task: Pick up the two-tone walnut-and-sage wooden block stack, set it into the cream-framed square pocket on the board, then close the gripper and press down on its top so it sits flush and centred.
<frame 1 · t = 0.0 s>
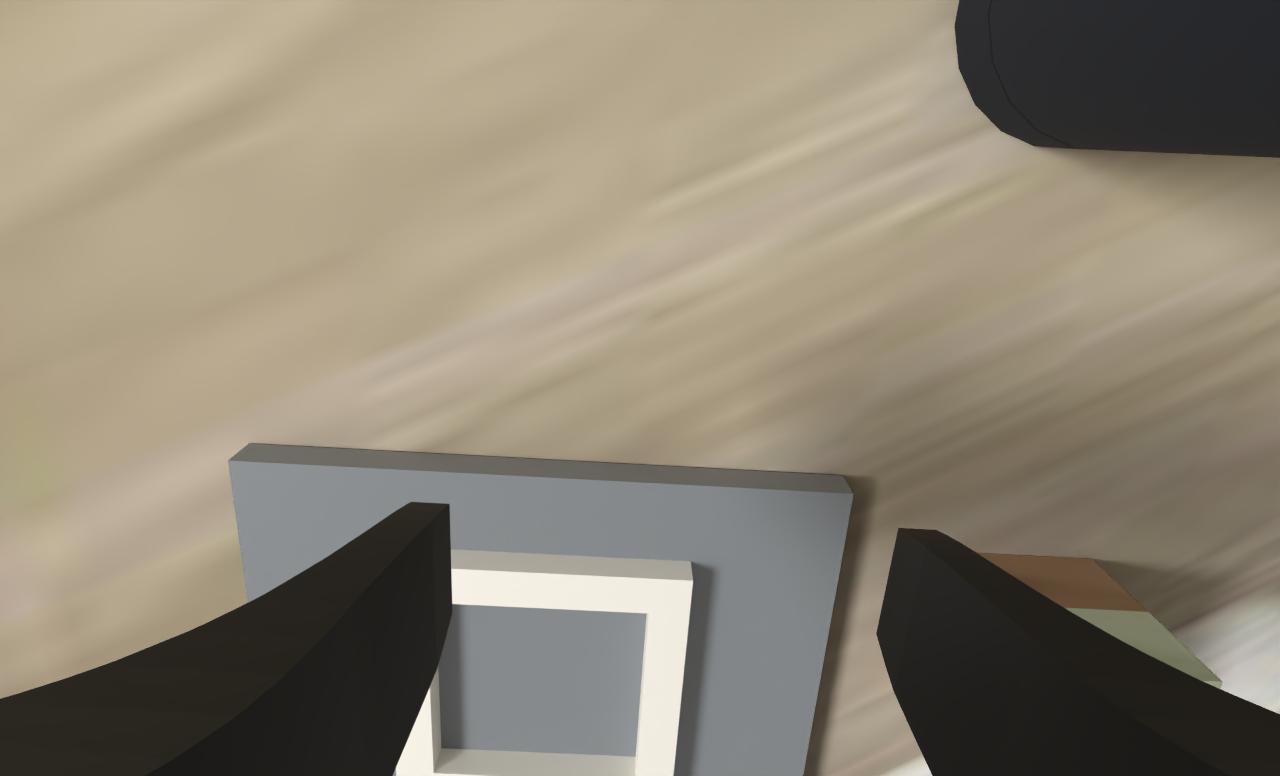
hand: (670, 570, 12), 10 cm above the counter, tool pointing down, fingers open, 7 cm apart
pocket board: (544, 648, 24), on the counter
block stack: (996, 618, 24), on the counter
wine bottle: (1078, 14, 18), on the counter
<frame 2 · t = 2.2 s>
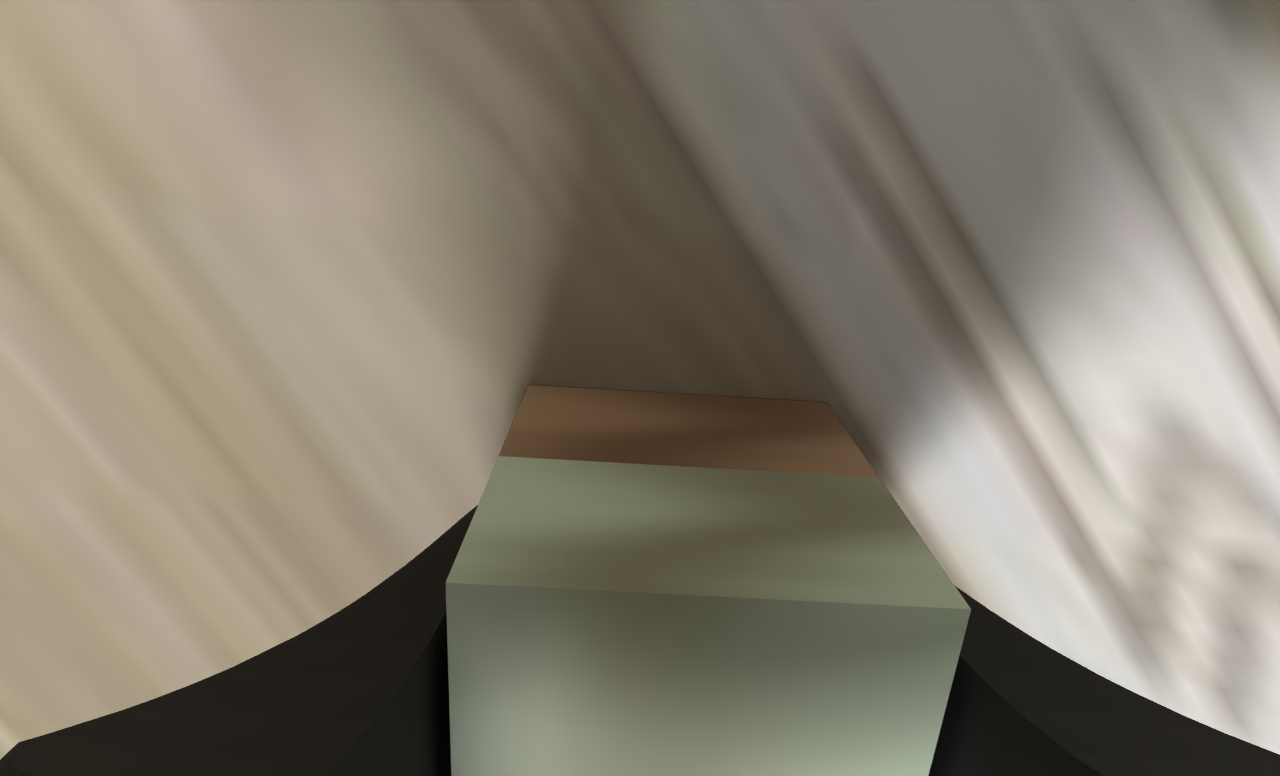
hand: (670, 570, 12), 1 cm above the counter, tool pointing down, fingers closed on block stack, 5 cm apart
block stack: (667, 524, 13), on the counter, touching gripper
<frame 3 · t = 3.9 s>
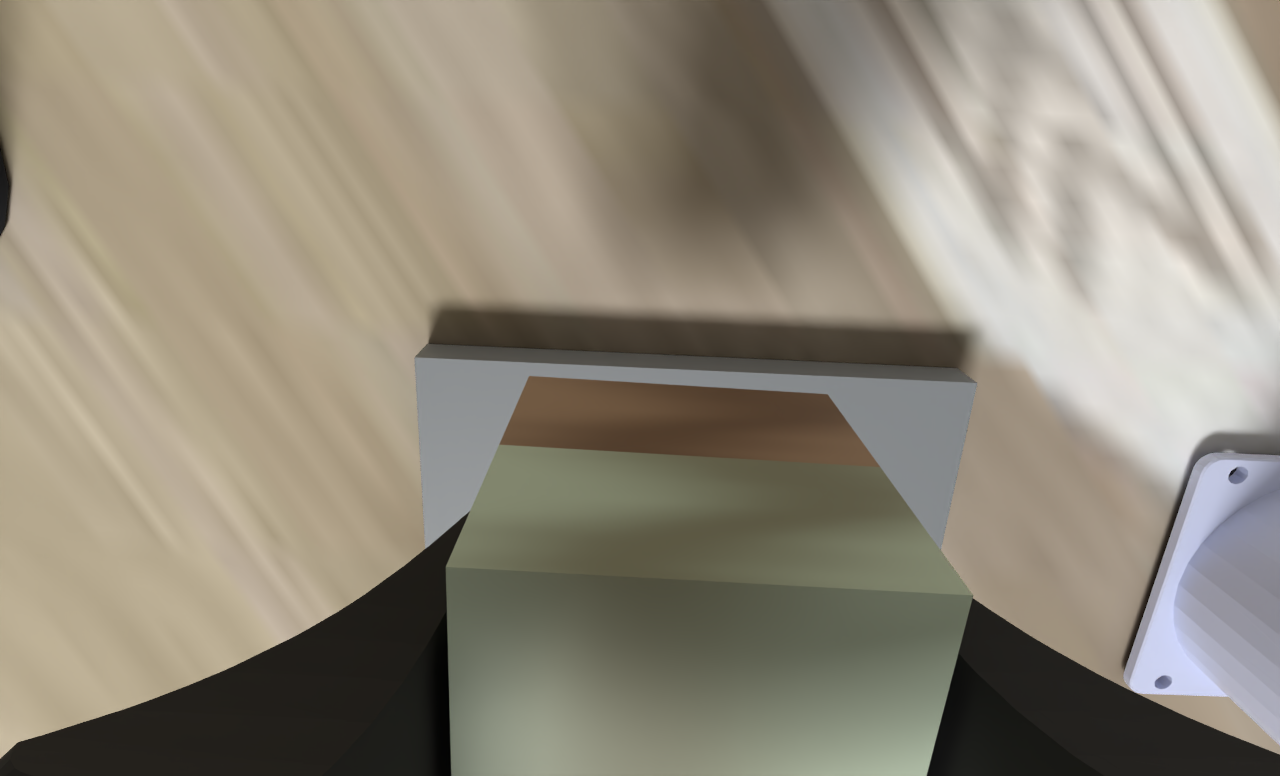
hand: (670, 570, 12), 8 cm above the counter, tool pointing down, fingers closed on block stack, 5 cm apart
pocket board: (672, 637, 22), on the counter
block stack: (667, 517, 13), point 7 cm above the counter, touching gripper
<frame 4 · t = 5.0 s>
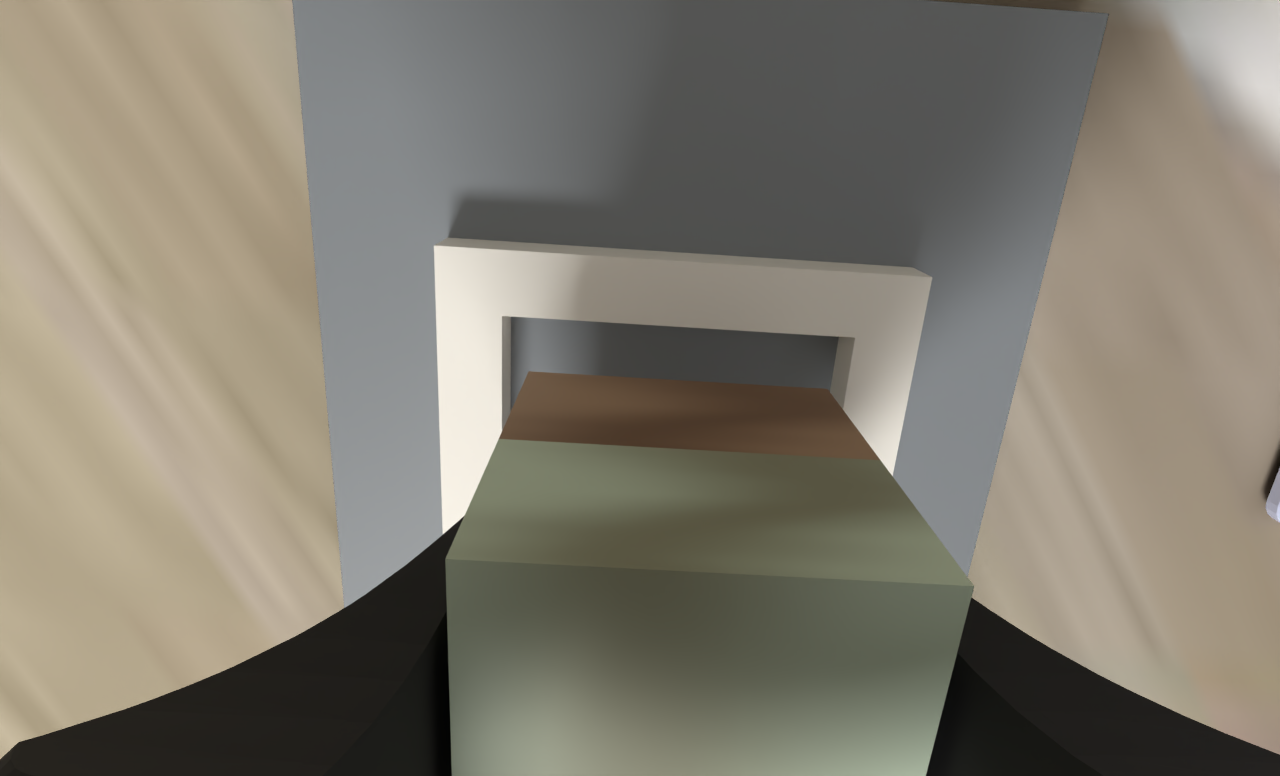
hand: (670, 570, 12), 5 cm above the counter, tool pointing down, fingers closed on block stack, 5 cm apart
pocket board: (662, 440, 16), on the counter
block stack: (667, 512, 13), point 4 cm above the counter, touching gripper
when the fingers open (4 cm above the counter, at t = 5.7 s): block stack drops 1 cm, resting on pocket board.
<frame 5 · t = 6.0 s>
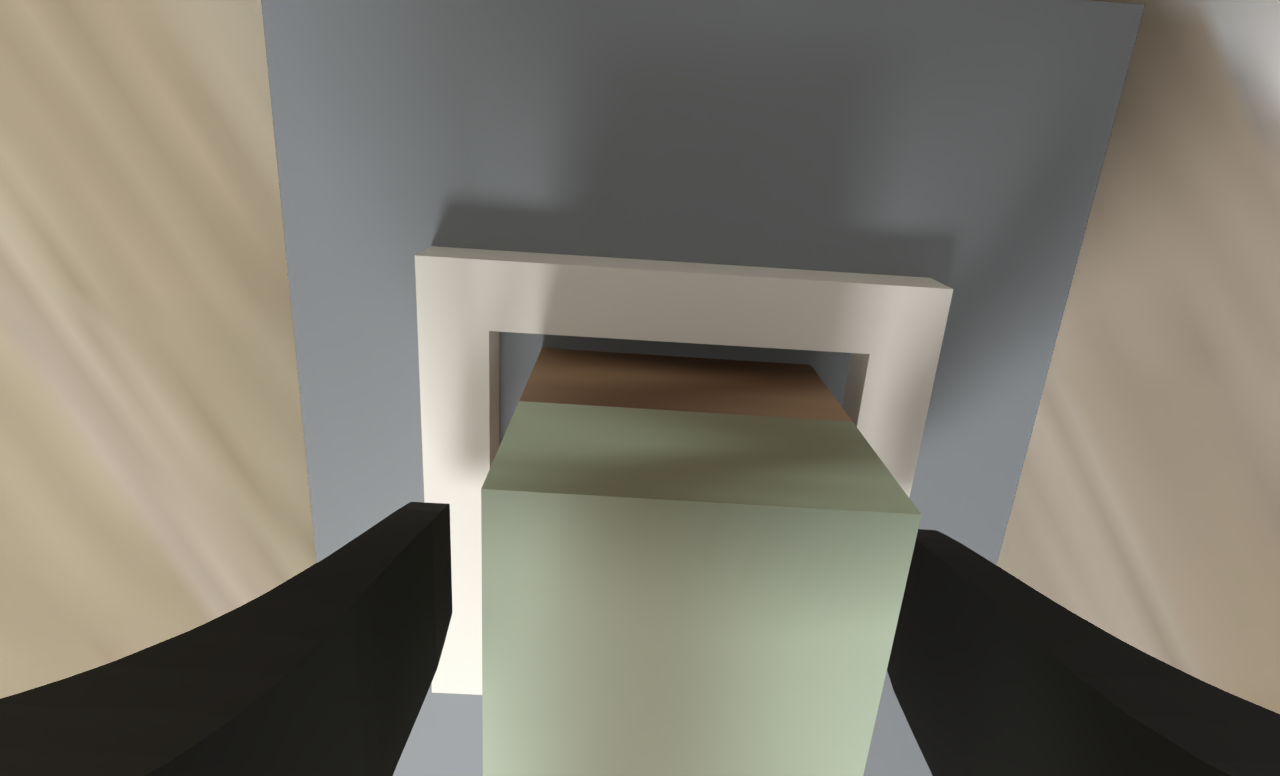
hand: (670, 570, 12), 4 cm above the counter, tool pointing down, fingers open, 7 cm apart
pocket board: (662, 460, 16), on the counter
block stack: (666, 477, 14), point 1 cm above the counter, touching pocket board
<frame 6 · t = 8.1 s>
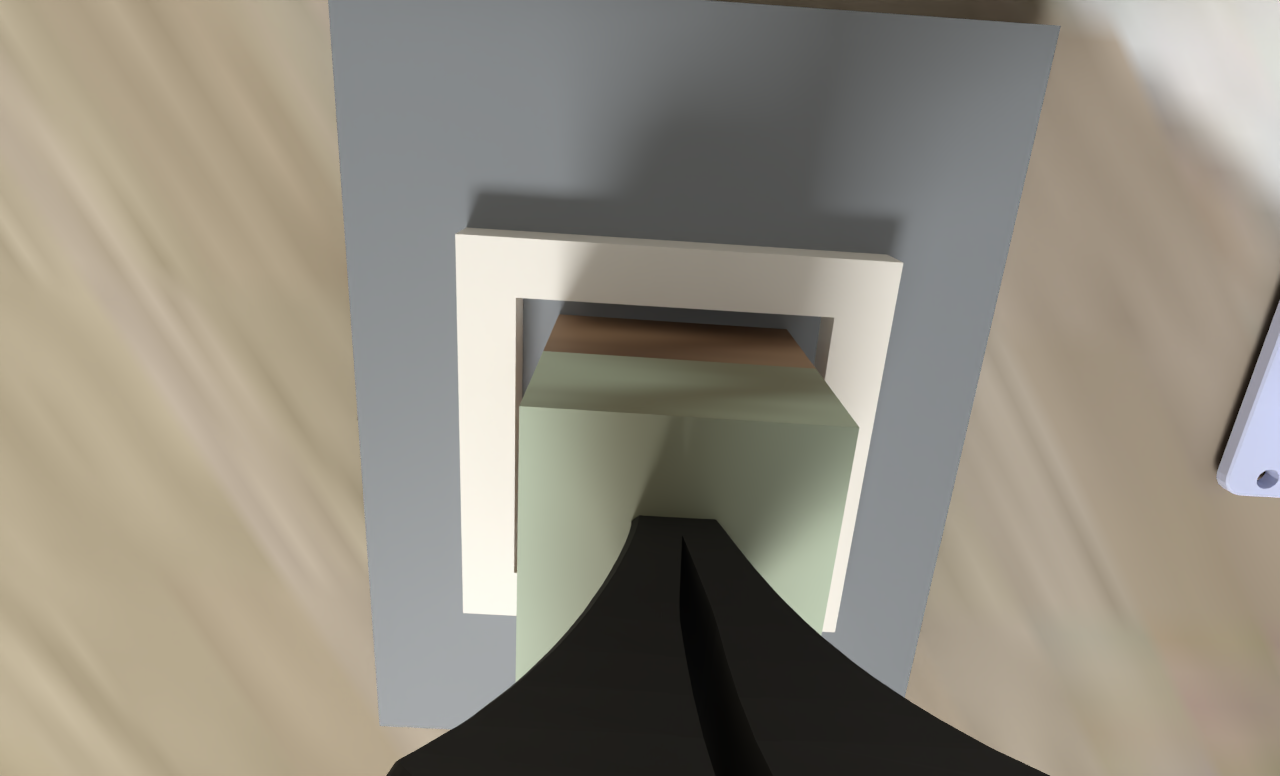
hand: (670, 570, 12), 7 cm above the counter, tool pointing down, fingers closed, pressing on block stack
pocket board: (661, 415, 18), on the counter
block stack: (664, 427, 17), point 1 cm above the counter, touching gripper, pocket board
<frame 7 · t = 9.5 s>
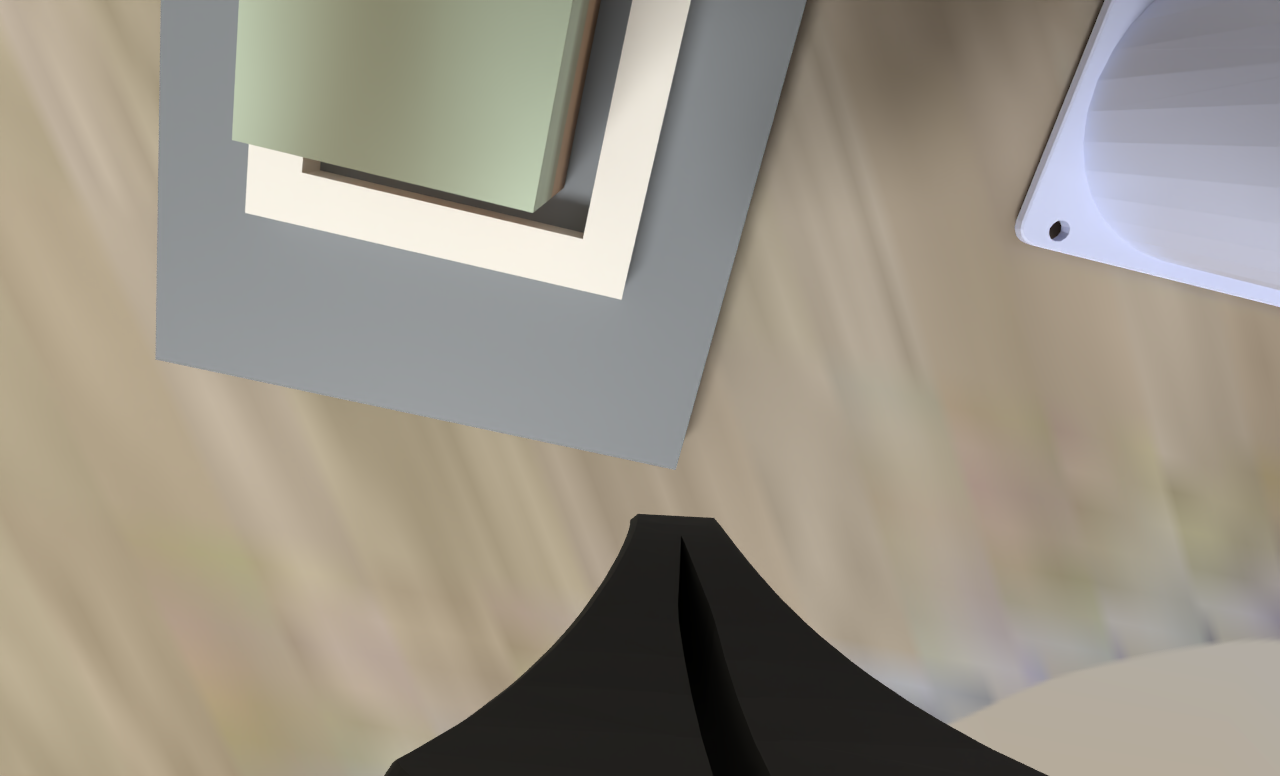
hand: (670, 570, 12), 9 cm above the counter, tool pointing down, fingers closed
pocket board: (485, 64, 18), on the counter
block stack: (478, 51, 17), point 1 cm above the counter, touching pocket board
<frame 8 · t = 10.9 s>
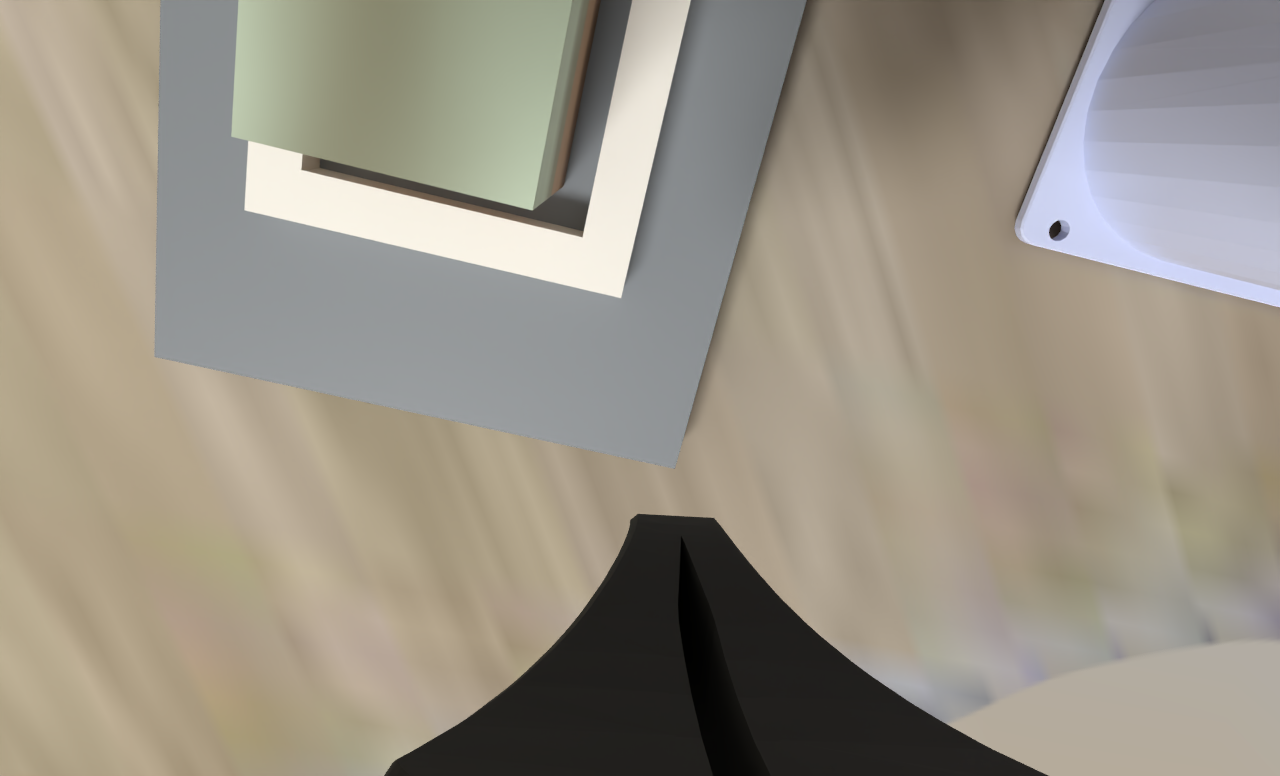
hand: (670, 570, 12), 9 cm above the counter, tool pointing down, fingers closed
pocket board: (485, 62, 18), on the counter
block stack: (478, 48, 17), point 1 cm above the counter, touching pocket board
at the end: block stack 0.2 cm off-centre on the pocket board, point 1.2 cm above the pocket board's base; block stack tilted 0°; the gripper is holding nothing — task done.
